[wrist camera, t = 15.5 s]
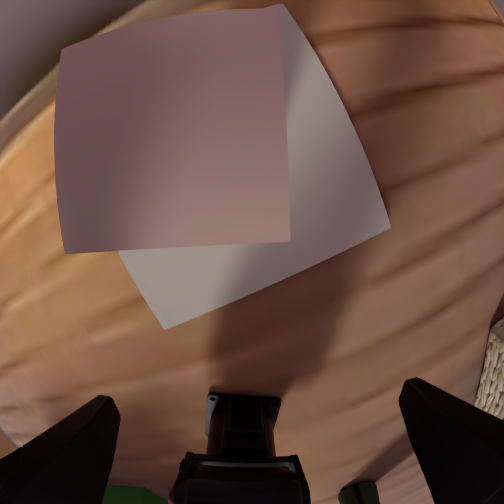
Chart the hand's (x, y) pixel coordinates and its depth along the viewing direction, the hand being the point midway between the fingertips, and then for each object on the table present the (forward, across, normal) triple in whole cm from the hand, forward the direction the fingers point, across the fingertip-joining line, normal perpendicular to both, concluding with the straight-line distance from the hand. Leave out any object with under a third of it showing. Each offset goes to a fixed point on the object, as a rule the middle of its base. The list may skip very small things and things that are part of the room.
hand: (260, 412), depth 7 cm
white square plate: (+13, +2, -7) cm, 15 cm away
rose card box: (+12, +2, -7) cm, 14 cm away
